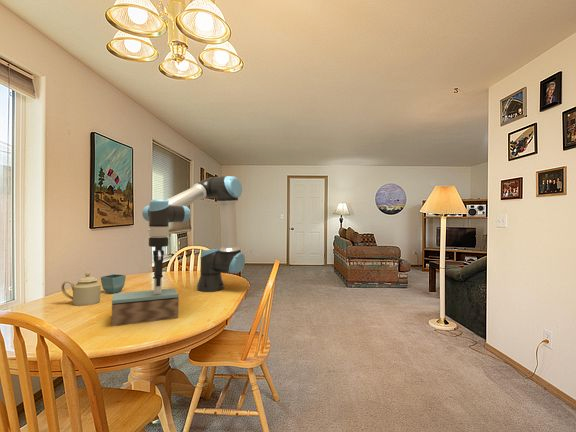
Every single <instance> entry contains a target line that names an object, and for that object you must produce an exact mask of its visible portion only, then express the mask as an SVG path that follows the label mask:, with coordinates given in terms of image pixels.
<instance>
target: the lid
mask: <svg viewBox="0 0 576 432" xmlns="http://www.w3.org/2000/svg"><path fill="white" fill-rule="evenodd" d="M176 297H178V298H179V293H178V292H177V290H176V289H175V288H174V287H173V288H164V289H162V290H161V294H154V289H151V290H139V291H130V292H129V291H128V292H127V291H126V292H117V293H113V295H112V299H111V305H112V304H115V303H125V302H135V301H145V300H156V299H166V298H176Z"/></svg>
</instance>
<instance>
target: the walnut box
mask: <svg viewBox="0 0 576 432" xmlns="http://www.w3.org/2000/svg"><path fill="white" fill-rule="evenodd" d="M178 318H179V297H176V298H166V299H156V300H145V301H135V302H125V303H115V304H112V303H111V327H115V326H124V325H132V324H139V323H148V322H156V321H162V320H163V321H164V320H170V319H171V320H172V319H178Z"/></svg>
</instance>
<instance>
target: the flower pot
mask: <svg viewBox="0 0 576 432" xmlns="http://www.w3.org/2000/svg"><path fill="white" fill-rule="evenodd" d="M126 277H127V275H126V274H114V273H113V274H108V275H104V276H100V284H101V288H102V290H103V291H104V293H106V294H114V293H121V292H122V290H123V288H124V287H125V282H126Z"/></svg>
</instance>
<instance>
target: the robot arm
mask: <svg viewBox="0 0 576 432" xmlns="http://www.w3.org/2000/svg"><path fill="white" fill-rule="evenodd" d="M242 193H243V188H242V184H241V181H240V180H239V178H238V177H237V176H234V175H232V176H230V175H227V176H211V177H207V178H204V179H203V180H201V181H198V182H197V183H194V184H192V186H191V187H190V188H189V189H186V190H184V191H181V192H180V193H177V194H176V195H173V196H171V197H169V198H168V199H151V200H150V201H149V205H146V206H145V207H144V208H143V209H142V213H141V214H142V218H143V219H144V220H145V221H147V222H148V226H149V227H148V228H147V229H146V230H147V232H148V236H149V237H148V246H149V248H150V247H151V248H154V250H152V255H153V265H154V269H153V272H154V273H153V275H154V276H153V277H152V279H153V281H154V283H153V290H154V294H161V290H162V286H163V285H162V284H163V283H162V282H163V281H162V278H163V277H164V275H163V264H164V263H163V262H164V256H165V251H164V250H163V247H164V248H165V247H168V246H169V231H170V227H169V226H170V225H169V224H170V223H187V221H189V220H190V218H191V210H190V208H189V206H190V205H193V204H194V203H196V202H198V201H203V200H205V199H210V198H211V199H214V198H216V203H218V204H219V209H220V210H219V213H220V214H219V217H220V231H221V233H220V234H221V235H220V236H221V247H220V248H212V249H204V250H201V252H200V258H199V259H200V273H199V274H200V276H199V279H198V282H197V285H196V286H197V287H196V290H197V291H199V292H205V293H206V292H210V293H211V292H217V291H221V290H223V289H225V288H224V286H225V284H224V281H223V278H222V273H228V274H238V273H241V271H243V269H244V267H245V264H246V263H245V262H246V256H245V254H244V253H243V252H242V251H241V247H239V246H238V231H237V230H238V228H237V225H238V224H237V209H236V206H237V205H236V203H238V201H239V198H240V197H241V195H242Z"/></svg>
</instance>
